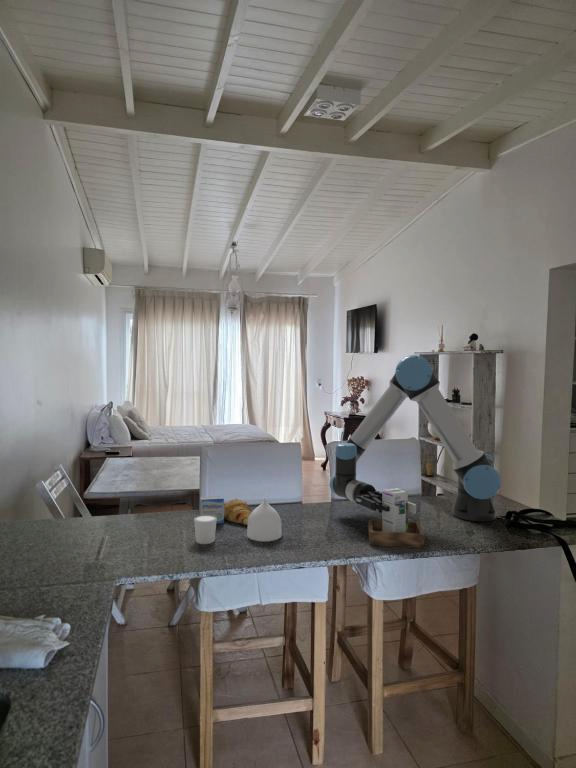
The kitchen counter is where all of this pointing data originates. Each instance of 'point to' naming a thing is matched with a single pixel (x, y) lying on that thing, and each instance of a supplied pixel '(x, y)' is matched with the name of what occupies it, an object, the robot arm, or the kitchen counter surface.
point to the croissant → (237, 511)
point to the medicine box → (213, 507)
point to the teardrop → (264, 523)
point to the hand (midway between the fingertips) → (406, 510)
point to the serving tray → (396, 535)
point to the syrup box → (399, 522)
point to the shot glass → (205, 529)
